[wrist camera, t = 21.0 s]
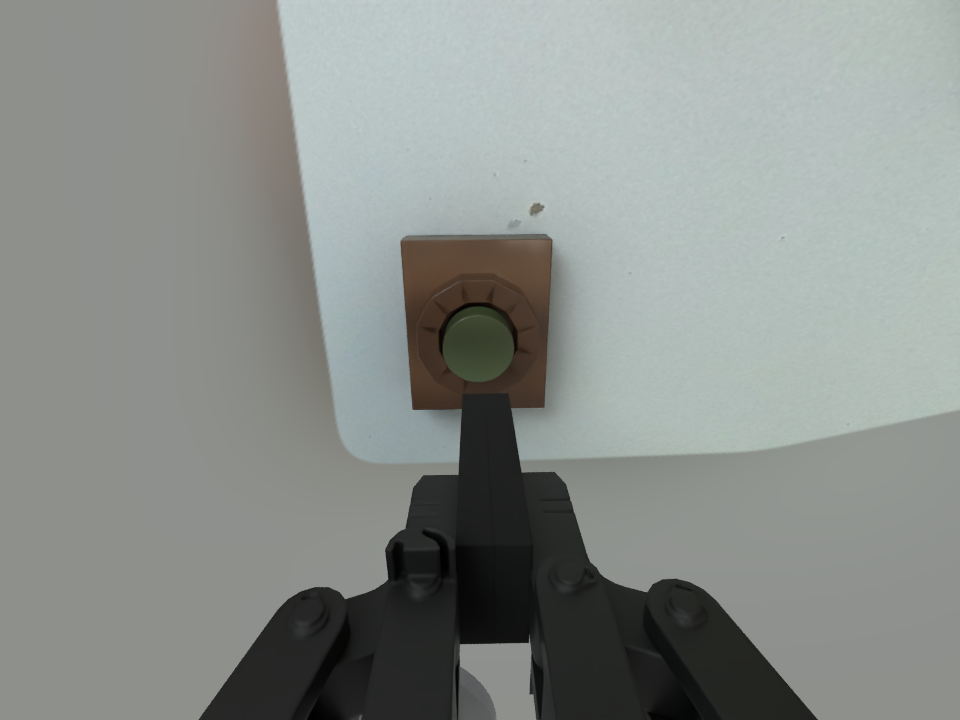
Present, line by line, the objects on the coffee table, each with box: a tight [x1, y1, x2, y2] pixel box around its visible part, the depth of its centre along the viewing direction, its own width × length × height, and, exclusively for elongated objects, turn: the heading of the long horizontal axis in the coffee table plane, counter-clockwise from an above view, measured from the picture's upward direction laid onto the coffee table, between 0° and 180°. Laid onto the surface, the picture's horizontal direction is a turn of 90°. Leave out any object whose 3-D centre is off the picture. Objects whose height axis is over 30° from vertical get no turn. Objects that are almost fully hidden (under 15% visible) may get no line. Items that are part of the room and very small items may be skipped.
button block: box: [401, 234, 552, 410], centre depth 26 cm, size 10×8×4 cm
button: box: [443, 306, 514, 382], centre depth 24 cm, size 4×4×2 cm
